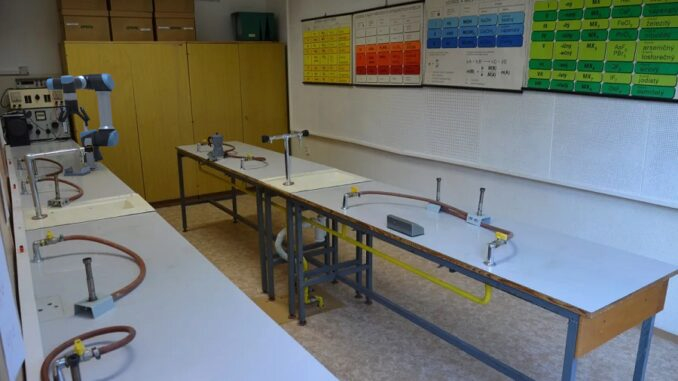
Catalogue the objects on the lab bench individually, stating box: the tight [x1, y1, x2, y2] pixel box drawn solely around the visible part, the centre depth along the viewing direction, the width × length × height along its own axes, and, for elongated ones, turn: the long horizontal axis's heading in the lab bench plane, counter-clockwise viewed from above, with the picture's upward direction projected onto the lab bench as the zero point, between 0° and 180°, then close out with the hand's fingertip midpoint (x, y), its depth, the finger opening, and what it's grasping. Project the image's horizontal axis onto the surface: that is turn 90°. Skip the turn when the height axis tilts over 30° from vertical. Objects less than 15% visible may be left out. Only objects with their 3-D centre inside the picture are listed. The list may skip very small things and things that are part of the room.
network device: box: [84, 138, 100, 171], centre depth 348 cm, size 26×9×20 cm, turn 25°
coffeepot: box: [206, 132, 225, 157], centre depth 387 cm, size 15×9×18 cm, turn 138°
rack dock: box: [62, 165, 91, 177], centre depth 330 cm, size 10×13×4 cm
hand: (76, 131), depth 332 cm, fingers open, 13 cm apart
